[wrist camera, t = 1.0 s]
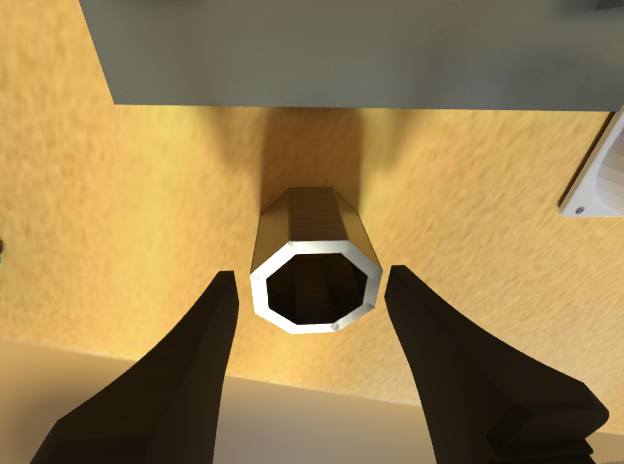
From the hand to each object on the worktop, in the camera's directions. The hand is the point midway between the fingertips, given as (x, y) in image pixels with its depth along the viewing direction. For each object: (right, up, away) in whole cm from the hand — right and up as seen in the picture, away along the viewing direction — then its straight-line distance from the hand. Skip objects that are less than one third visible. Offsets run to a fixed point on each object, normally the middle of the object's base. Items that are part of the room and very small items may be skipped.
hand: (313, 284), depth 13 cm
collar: (0, +2, +4) cm, 5 cm away
